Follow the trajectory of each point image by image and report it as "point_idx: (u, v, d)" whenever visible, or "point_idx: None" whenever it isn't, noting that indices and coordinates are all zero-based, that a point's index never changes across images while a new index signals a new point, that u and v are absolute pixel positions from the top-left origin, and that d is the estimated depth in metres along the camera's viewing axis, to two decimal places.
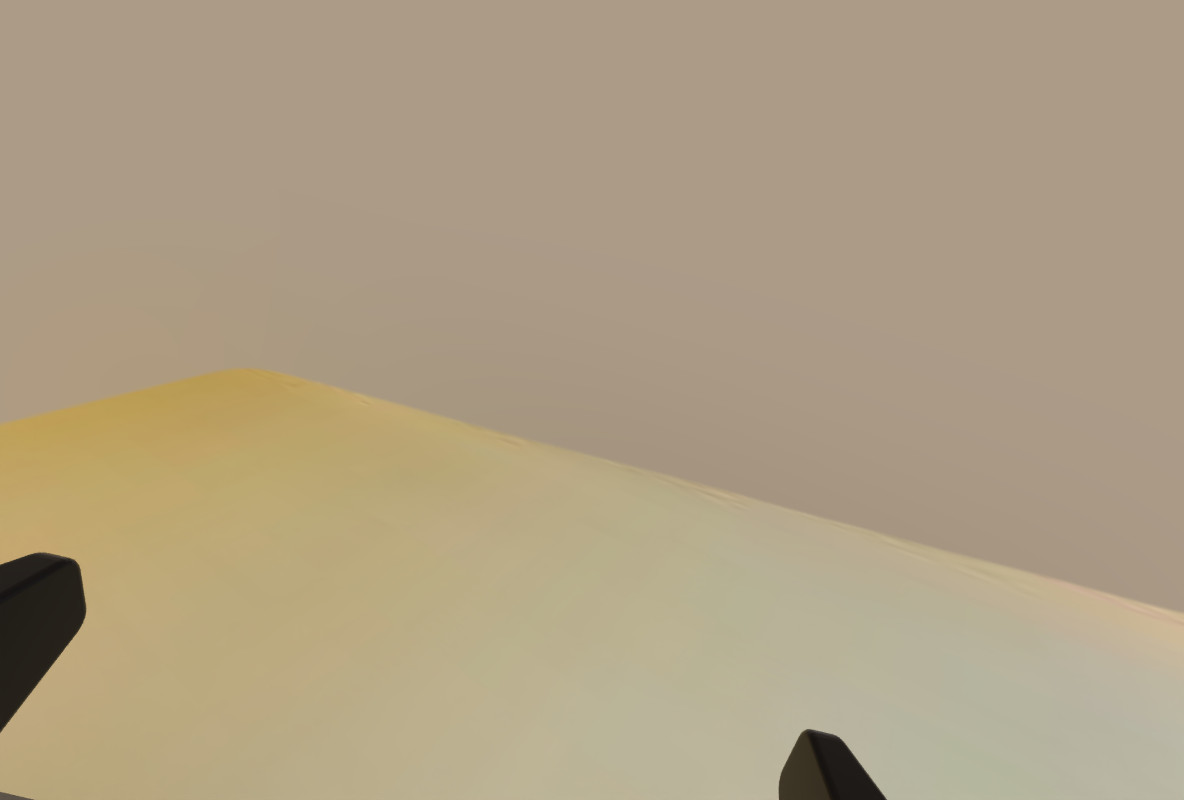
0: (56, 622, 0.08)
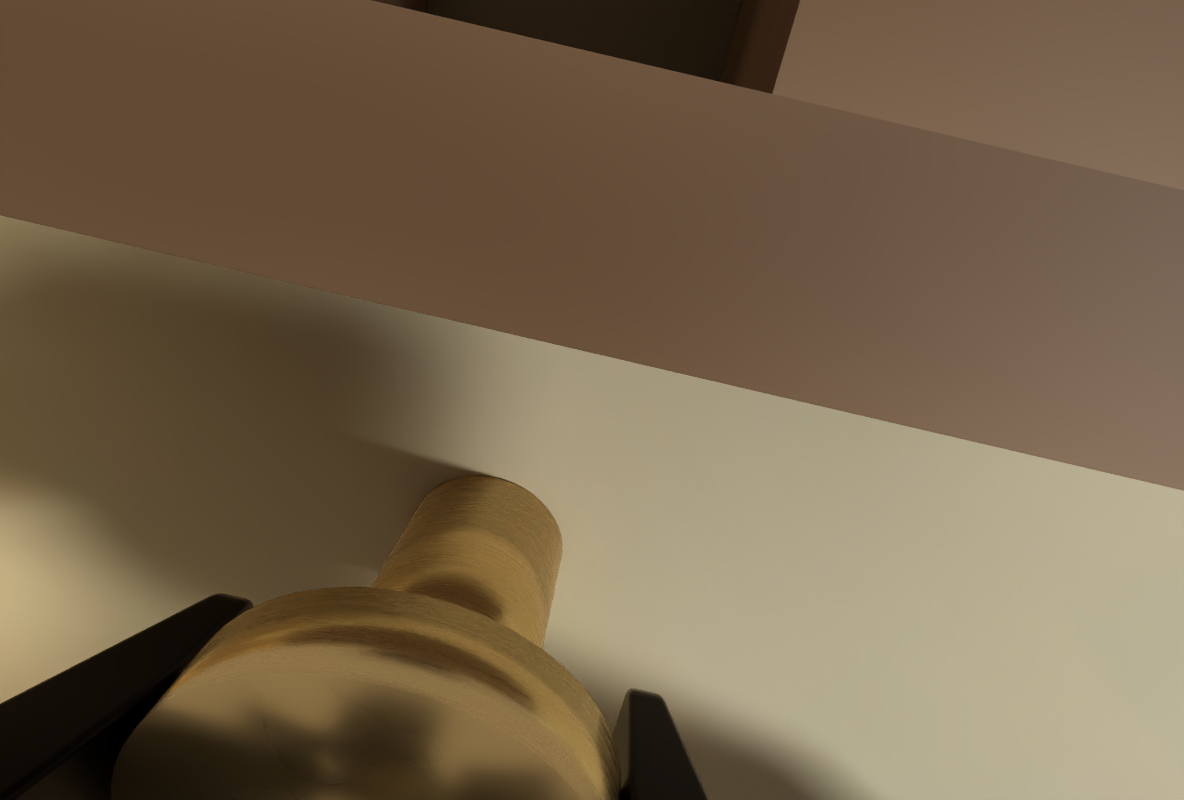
0: None
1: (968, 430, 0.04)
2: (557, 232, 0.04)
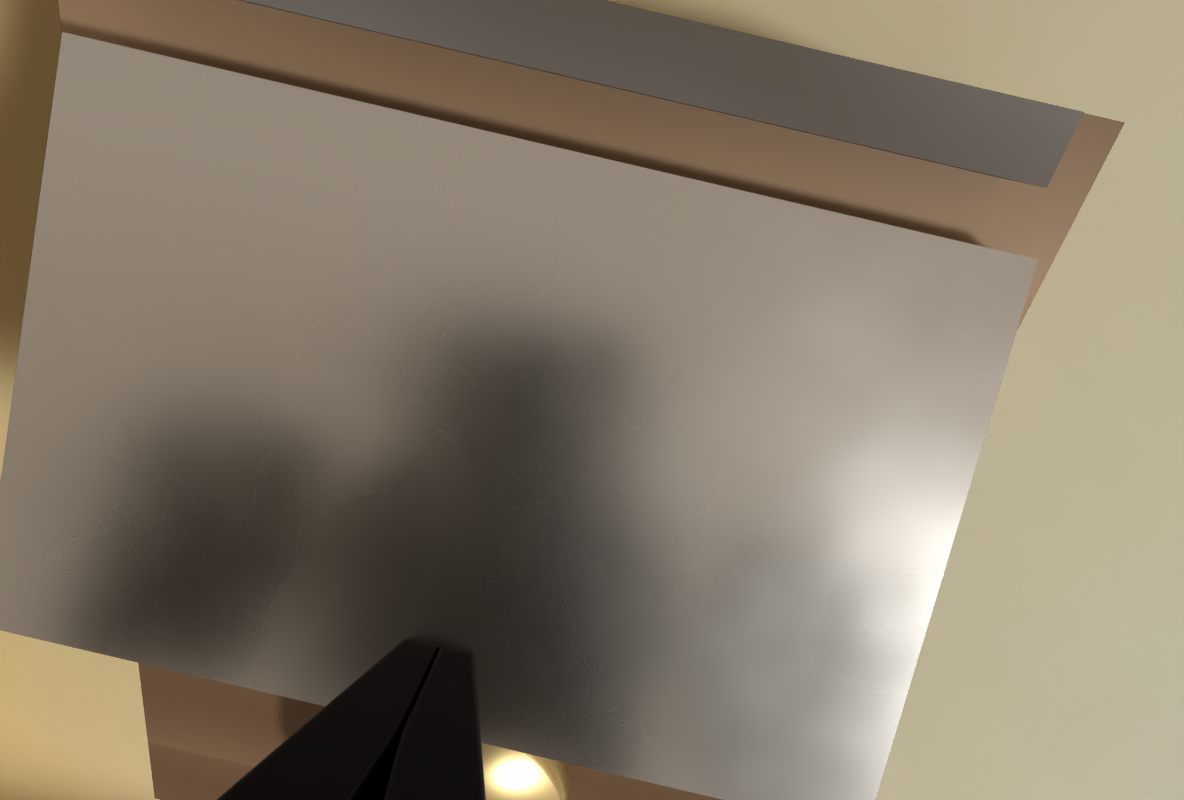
0: None
1: None
2: None
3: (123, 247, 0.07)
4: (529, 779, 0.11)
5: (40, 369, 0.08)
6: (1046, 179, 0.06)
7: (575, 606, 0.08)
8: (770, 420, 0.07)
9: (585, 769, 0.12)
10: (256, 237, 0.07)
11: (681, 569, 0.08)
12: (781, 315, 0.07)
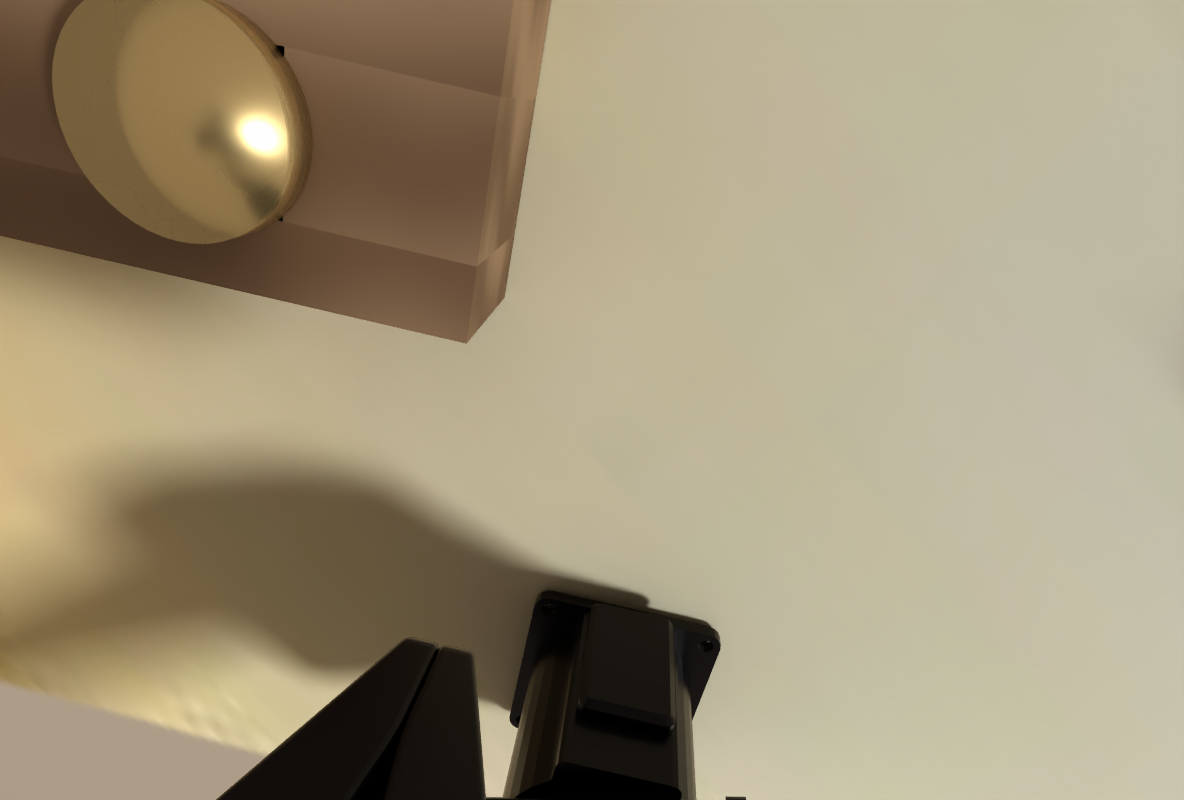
0: None
1: (367, 317, 0.15)
2: (235, 258, 0.14)
3: None
4: (245, 65, 0.12)
5: None
6: None
7: None
8: None
9: (323, 124, 0.13)
10: None
11: None
12: None
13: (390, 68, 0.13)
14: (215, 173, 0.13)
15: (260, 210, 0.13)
